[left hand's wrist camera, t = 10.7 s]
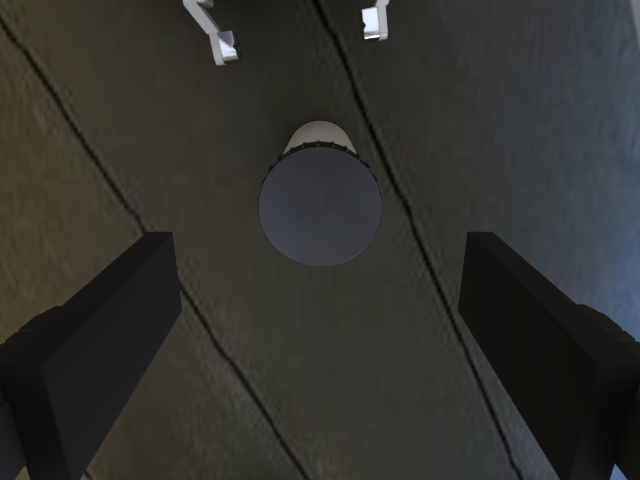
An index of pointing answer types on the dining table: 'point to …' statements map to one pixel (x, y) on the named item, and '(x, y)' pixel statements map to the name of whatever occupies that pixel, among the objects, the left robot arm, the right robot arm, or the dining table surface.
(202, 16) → the right robot arm
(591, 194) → the dining table surface
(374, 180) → the lid
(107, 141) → the dining table surface
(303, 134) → the jar
